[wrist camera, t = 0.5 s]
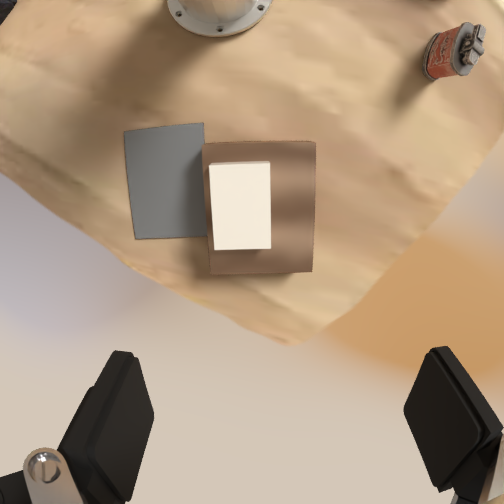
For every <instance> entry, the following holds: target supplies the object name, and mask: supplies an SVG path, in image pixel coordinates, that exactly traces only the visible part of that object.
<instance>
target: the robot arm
mask: <svg viewBox="0 0 504 504" xmlns="http://www.w3.org/2000/svg"><path fill="white" fill-rule="evenodd" d="M167 3H168V8H169V11H170V13H171V15H172V16H173V18H174V19H175V20H176V22H177V23H178V24H179V25H181V26H182V27H183V28H185V29H186V30H188V31H190V32H192V33H195V34H198V35H202V36H209V37H224V36H229V35H234V34H237V33H240V32H243V31H245V30H247V29H249V28H251V27H252V26H254V25H255V24H256V23H258V22H259V21H260V20H261V19H262V18H263V17H264V16H265V15H266V13H267V12H268V10H269V8H270V6H271V3H272V0H167ZM259 9H263V10H262V11H260V10H259ZM179 15H182V16H180V17H179ZM220 29H221V30H222V32H218V30H220ZM404 415H405V418H406V420H407V422H408V425H409V427H410V429H411V432H412V434H413V437H414V439H415V441H416V444H417V446H418V449H419V451H420V453H421V456H422V458H423V461H424V463H425V466H426V469H427V471H428V474H429V477H430V479H431V482H432V484H433V485H434V486H435V487H437V488H438V491H439V493H440V492H443V491H446V490H448V489H451V488H452V487H453V488H454V491H455V493H454V496H453V499H452V501H451V504H504V434H502V432H501V431H502V429H503V428H504V427H503V425H502V424H501V422H500V421H499V419H498V418H497V416H496V414H495V413H494V411H493V410H492V408H491V407H490V405H489V404H488V402H487V401H486V399H485V397H484V396H483V395H482V393H481V392H480V390H479V389H478V387H477V386H476V384H475V383H474V382H473V380H472V379H471V377H470V376H469V374H468V373H467V372H466V370H465V369H464V367H463V366H462V364H461V363H460V362H459V360H458V359H457V358H456V356H455V355H454V354H453V352H452V351H451V350H450V348H449V347H448V346H442V347H435V348H432V349H430V351H429V353H427V354H426V355H425V358H424V361H423V363H422V365H421V368H420V370H419V373H418V375H417V378H416V380H415V382H414V385H413V387H412V390H411V392H410V394H409V396H408V399H407V401H406V403H405V405H404ZM153 421H154V411H153V408H152V405H151V401H150V398H149V395H148V391H147V388H146V385H145V381H144V377H143V374H142V370H141V366H140V363H139V359H138V358H137V357H134V356H133V354H132V353H131V352H124V351H116V350H115V351H114V352H113V353H112V354H111V356H110V358H109V360H108V361H107V363H106V365H105V367H104V368H103V370H102V372H101V374H100V376H99V377H98V379H97V381H96V383H95V385H94V386H92V387H90V388H89V389H88V391H87V393H86V394H85V396H84V398H83V400H82V402H81V404H80V405H79V407H78V409H77V411H76V413H75V415H74V417H73V419H72V421H71V423H70V425H69V427H68V429H67V431H66V432H65V435H64V436H63V439H62V441H61V442H60V445H59V447H58V449H57V451H56V450H54V449H51V448H39V449H36V450H34V451H32V452H31V453H30V454H29V455H28V456H27V458H26V459H25V461H24V465H23V470H21V471H18V472H15V473H12V474H9V475H6V476H3V477H0V504H125V502H126V501H127V502H129V501H130V500H131V498H132V494H133V490H134V487H135V483H136V480H137V476H138V472H139V469H140V465H141V462H142V458H143V455H144V451H145V448H146V445H147V441H148V438H149V434H150V431H151V428H152V424H153Z"/></svg>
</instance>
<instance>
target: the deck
mask: <svg viewBox="0 0 504 504" xmlns="http://www.w3.org/2000/svg"><path fill="white" fill-rule="evenodd" d="M250 161H269V162H270V195H271V249H236V250H215V249H214V236H213V222H212V207H211V192H210V174H209V165H210V164H211V163H223V162H250ZM202 163H203V180H204V196H205V210H206V224H207V236H208V249H209V260H210V271H211V275H214V274H263V273H299V272H312V265H313V246H314V222H315V187H316V143H315V142H311V141H244V142H220V143H206V144H203V145H202Z"/></svg>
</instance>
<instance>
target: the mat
mask: <svg viewBox="0 0 504 504" xmlns="http://www.w3.org/2000/svg"><path fill="white" fill-rule="evenodd" d="M124 142H125V154H126V166H127V176H128V185H129V194H130V202H131V210H132V217H133V224H134V231H135V238H136V239H143V238H170V237H200V236H207V224H206V210H205V196H204V180H203V163H202V145H203V144H204V123H194V124H183V125H173V126H163V127H155V128H147V129H139V130H132V131H126V132H124Z"/></svg>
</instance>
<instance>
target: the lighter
mask: <svg viewBox="0 0 504 504" xmlns="http://www.w3.org/2000/svg"><path fill="white" fill-rule="evenodd" d="M485 33H486V28H485V27H484V26H483V25H481V24H478V25H475V26H474V25H473V24H471V23H469V22H466V23H463V24H462V25H461V26H459V27H456V28H454V29H451V30H448V31H445V32H443V33H442V32H439V33H436V34H435V35H434V36H433V38H432V39H431V41H430V42H429V45H428V47H427V49H426V52H425V55H424V60H423V66H422V71H423V74H424V75H425V76H426V77H427V78H428V79H430V80H438V79H439V78H441V77H448V76H454V75H460V76H465V75H468V74H469V73H470V71H471V69H472V68H473V66H474V65H476V64H477V62H478V58H479V57H480V56H481V55H482V54H483V53H484V48H483V47H482V44H483V40H484V37H485Z"/></svg>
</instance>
